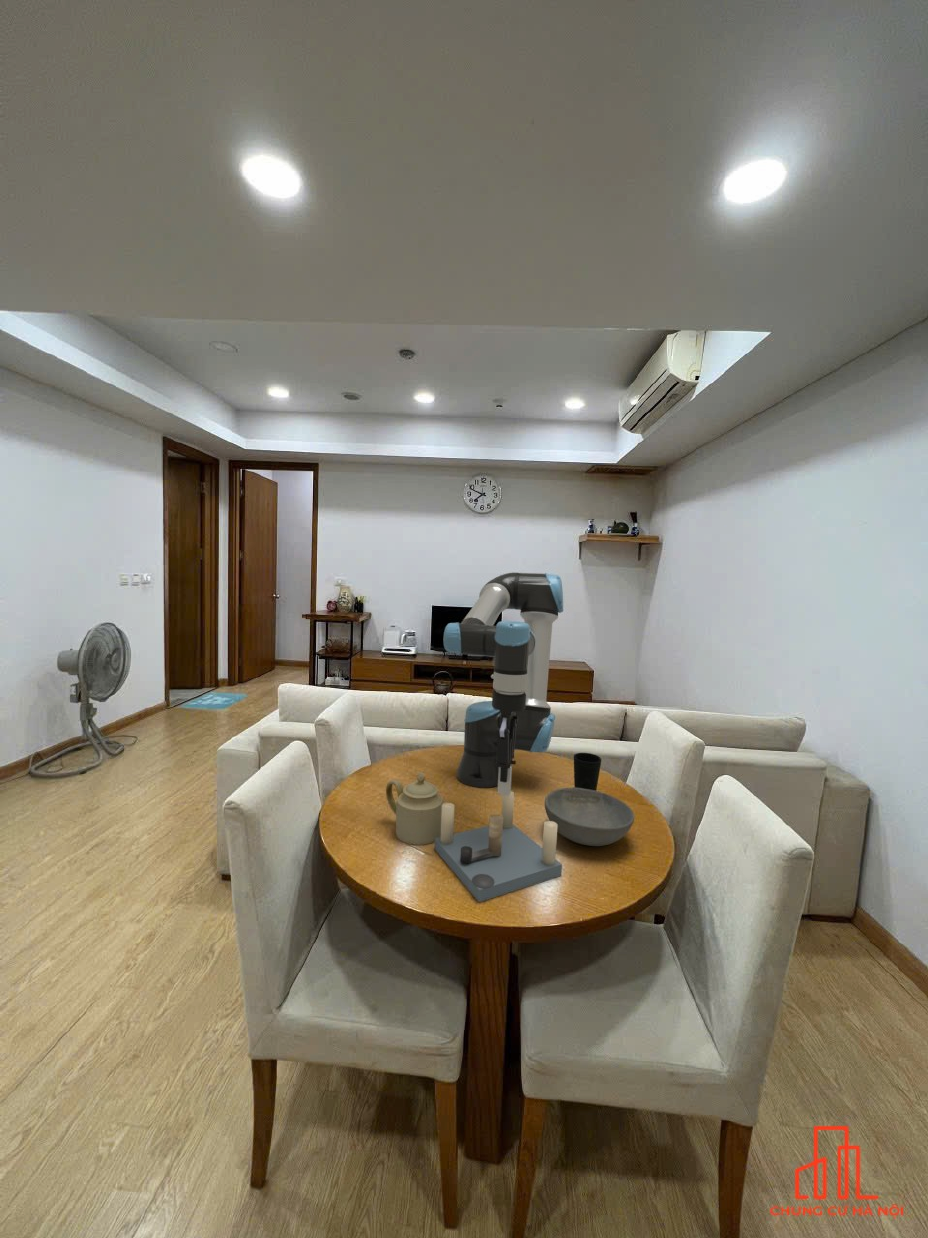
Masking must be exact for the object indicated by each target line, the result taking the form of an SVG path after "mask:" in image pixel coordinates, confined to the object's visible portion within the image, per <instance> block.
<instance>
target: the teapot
mask: <svg viewBox="0 0 928 1238" xmlns="http://www.w3.org/2000/svg"><path fill="white" fill-rule="evenodd" d="M425 780H426V775H425V774H424V772H419V773H418V774H417V777H416V781H411V782H410V783H409V784H407V785H405V786H404V787H403V784H402V782H401V781H400V780H398V779H392V780H390V781H389V782H388V783H387V784H386V787H385V795H386V801H387V803H388V805H389V808H390V809H391V810H392V812H393V814H394V815H395V835H396V837H397V839H398V840H399V841H401V842H403V843H406V844H408V845H413V846H424V845H429V844H432V843H435V838H439V837H441V814H442V804H444V798H443V796H442V795H441V794H440V793H439V788H438V787H437V786H436V785H434V784H433V783H431V782H429V781H425ZM393 786H394V787H395V789H396V794H397V798H396V800H395V798H394V794H393Z"/></svg>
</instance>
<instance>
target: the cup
mask: <svg viewBox="0 0 928 1238" xmlns="http://www.w3.org/2000/svg"><path fill="white" fill-rule="evenodd" d="M601 766H602V758H601V757H600V756H599V755H597V754H594V753H590V752H589V753H588V752H577V753H575V754H573V779H574V781H573V783H574V784H573V785H574V788H583V789H589V790H595V791H598V783H599V782H598V781H599V776H600V770H601Z"/></svg>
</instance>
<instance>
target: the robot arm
mask: <svg viewBox="0 0 928 1238" xmlns="http://www.w3.org/2000/svg"><path fill="white" fill-rule="evenodd" d="M563 594H564V593H563V583H562V578H561V576H559V575H558V574H553V573H551V574H550V573H546V572H545V573H538V572H537V573H535V572H531V573H530V572H529V573H528V572H508V573H507V572H506V573H503V574H499V576H497V577H494V578H493V579H490V580H489V581H488V582H486V584H485V585H484V586H483V587H482V588H481V589H480V592H479V596H478V599H477V601H476V602H475V603H474V605H473V606H472V608H471V609H470V610H469V612H468V613H467V614H466V616H465V617H464V618H463V619H462V621H461V623H460V622H456V621H455V622H450V623H447V625H446V626H445V627H444V632H443V639H442V640H443V647H444V650H446V652H447V653H452V654H458V655H470V656H472V655H473V656H484V657H494V663H493V674H491V675H490V678H491V679H493V680H492V681H493V682H492V688H493V689H494V690H493V691H492V696H491V700H486V701H479V702H475V703H472V704H470V705H468V706H467V707H466V709H465V717H464V718H465V719H464V735H463V736H464V738H463V753H462V756H461V758H460V761H459V763H458V767H457V769H456V771H457V772H456V773H457V774H456V778H457V779H458V781H459V782H461V783H462V784H465V785H468V786H470V787H474V788H475V787H476V788H494V787H497V795H501V796H502V795H506V796H509V795H510V792H511V791H512V789H511V788H512V775H513V773H512V771H513V765H514V766H516V761H515V760H514V759H515V751H516V750H517V751H524V752H530V753H540V754H541V753H546V751H548V750H549V747H550V743H551V740H552V736H553V731H554V727H555V720H556V715H555V714H554V713H553V712H552V713H551V710H552V708H551V705H550V704H549V703H548V702H547V695H548V682H549V670H550V669H549V668H550V656H551V647H552V646H551V644H552V632H553V631H552V630H553V623H554V622H555V621H556V620H558V618H559V613H560V614H561V613H563V612H564V595H563ZM506 610H519V611H520V614H519V615H520V617H521V619H523V621H512V620H506V621H505V620H503V621H502V620H501V621H498V622H497V624H496V625H495V623H496V621H497V619H498V617H499V615H500V614H501V613H502V612H504V611H506Z"/></svg>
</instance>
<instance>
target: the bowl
mask: <svg viewBox="0 0 928 1238" xmlns="http://www.w3.org/2000/svg"><path fill="white" fill-rule="evenodd" d="M544 810H545V814H546V816H547V818H548V819H547V820H548V821H553V822H555V823H557V825H558V826H557V833H558V834H560V835H562V837H564V838H565V839H568V840H570V841H571V842H574V843H577V844H580V845H584V846H588V847H589V846H590V847H603V846H607V845H611V844H614V843H615V842H618V841H619V840H621V839H622V838H624V837H625V836H626V835H627V834H628V832H629V831H630V830H631V828H632V826H633V824H634V821H635V814H634V811H633V809H632V808H631V807H630V806H629V805H628V804H627V803H625V802H623V800H620V799H618V798H616V796H612V795H611V794H608V793H605V792H602V791H598V790H596V791H595V790H589V789H583V788H575V787H562V788H557V789H555V790H553V791H551V792H550V793H548V794H547V795H546V796H545V799H544Z"/></svg>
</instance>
